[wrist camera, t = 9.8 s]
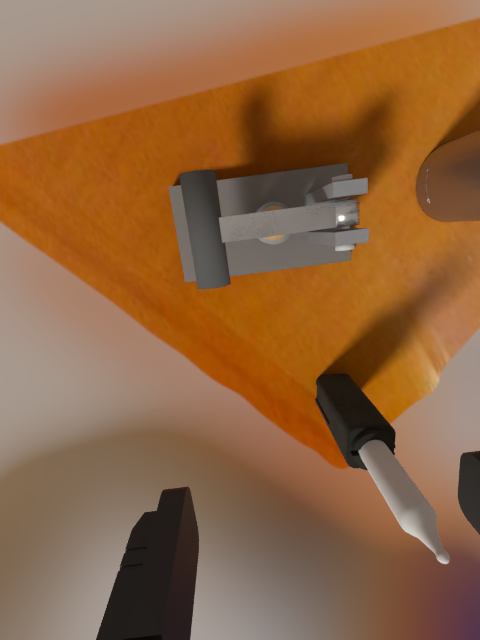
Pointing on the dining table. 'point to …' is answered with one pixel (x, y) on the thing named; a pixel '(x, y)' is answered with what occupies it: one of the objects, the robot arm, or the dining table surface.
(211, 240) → the lever
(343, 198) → the base
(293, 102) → the dining table surface
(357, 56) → the dining table surface
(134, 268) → the dining table surface
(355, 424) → the black and grey rod
